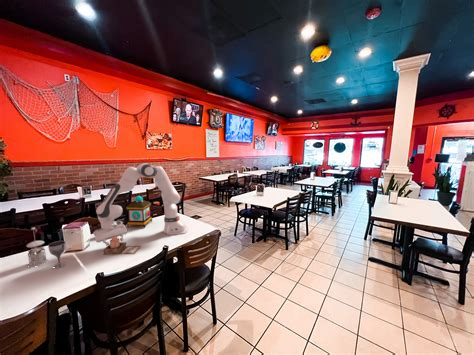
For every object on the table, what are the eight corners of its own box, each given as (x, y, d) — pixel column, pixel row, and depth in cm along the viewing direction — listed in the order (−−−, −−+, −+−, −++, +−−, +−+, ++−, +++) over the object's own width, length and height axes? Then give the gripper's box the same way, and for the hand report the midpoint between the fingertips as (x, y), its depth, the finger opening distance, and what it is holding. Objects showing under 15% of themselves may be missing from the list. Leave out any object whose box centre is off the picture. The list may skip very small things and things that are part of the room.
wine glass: (48, 270, 118) (45, 247, 116) (53, 263, 125) (51, 242, 123) (65, 266, 122) (62, 245, 120) (69, 260, 129) (66, 239, 127)
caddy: (141, 247, 149) (141, 241, 148) (134, 255, 137) (134, 249, 136) (112, 247, 147) (112, 241, 146) (102, 256, 135) (102, 250, 135)
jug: (109, 250, 141) (108, 237, 139) (118, 247, 146) (117, 234, 144) (113, 254, 136) (112, 240, 135) (122, 250, 141) (121, 237, 139)
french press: (29, 269, 118) (23, 232, 115) (24, 263, 124) (19, 227, 121) (50, 262, 127) (46, 226, 123) (45, 256, 133) (40, 222, 129)
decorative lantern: (124, 228, 182) (122, 198, 177) (135, 220, 201) (133, 193, 197) (145, 228, 182) (144, 198, 177) (154, 221, 202) (153, 193, 197)
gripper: (93, 229, 135) (99, 246, 130) (124, 220, 151) (130, 236, 146) (91, 233, 138) (97, 250, 134) (122, 224, 154) (128, 239, 150)
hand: (115, 242), depth 140 cm, fingers open, 8 cm apart
